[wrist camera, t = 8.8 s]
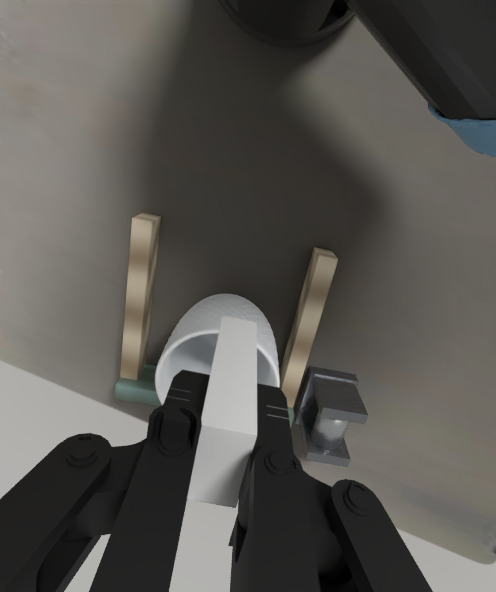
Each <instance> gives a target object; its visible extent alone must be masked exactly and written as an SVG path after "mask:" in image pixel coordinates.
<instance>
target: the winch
mask: <svg viewBox="0 0 496 592" xmlns="http://www.w3.org/2000/svg"><path fill="white" fill-rule="evenodd" d="M357 384H358V380H357V378H356V375H354V374H349V373H343V372H338V371H332V370H327V369H321V368H316V367H310V366H309V370H308V373H307V376H306V379H305V382H304V386H303V389H302V392H301V395H300V399H299V402H298V405H297V408H296V412H295V415H294V418H295V424H299V425H300V430H301V436H302V442H303V448H304V454H305V460H309V461H315V462H321V463H327V464H333V465H339V466H345V467H347V466H348V464H349V462H350V456H349V453H348V450H347V447H346V443H345V440H344V434H345V431H346V429H347V426H348V424H349V421H351V422H356V423H362V424H365V422H366V420H367V417H368V414H367V411H366V409H365V407H364V404H363V402H362V400H361V397H360V395H359V393H358V391H357V388H356V387H357Z"/></svg>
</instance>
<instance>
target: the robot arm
mask: <svg viewBox="0 0 496 592" xmlns="http://www.w3.org/2000/svg"><path fill="white" fill-rule="evenodd" d="M220 2H221V3H222V5H223V7H224V8H225V10H226V11H227V12H228V14H229V15H230V16H231V17H232V19H233V20H234V21H235V22H236V23H237V24H238V25H239V26H240V27H241V28H242V29H244V30H245V31H246V32H248V33H249V34H250V35H252V36H254V37H255V38H257V39H259V40H261V41H264V42H267V43H270V44H273V45H278V46H286V47H294V46H302V45H307V44H311V43H314V42H317V41H319V40H321V39H324V38H325V37H327V36H329V35H331V34H332V33H334V32H335V31H337V30H338V29H339V28H341V27H342V26H343V25H344V24H345V23H346V22H347V21H348V20H349V19H350V18H351V17H352V16H353V15H354V14H355V15H356V17H357V18H358V19H359V20H360V21H361V23H362V24H363V25H364V26H365V27H366V29H367V30H368V31H369V32H370V33H371V35H372V36H373V37H374V38H375V39H376V41H377V42H378V43H379V44H380V45H381V47H382V48H383V49H384V50H385V52H386V53H387V54H388V55H389V56H390V58H391V59H392V60H393V61H394V62H395V64H396V65H397V66H398V67H399V68H400V70H401V71H402V72H403V73H404V74H405V76H406V77H407V78H408V79H409V80H410V82H411V83H412V84H413V85H414V86H415V88H416V89H417V90H418V91H419V93H420V94H421V95H422V96H423V97H424V99H425V100H426V101H427V102H428V109H429V110H430V111H431V113H432V114H433V115H434V116H435V117H436V118H437V119H438V120H440V121H442V122H444V123H446V124H448V125H449V127H450V128H451V129H452V130H453V131H454V132H455V133H456V134H457V135H458V136H459V137H460V138H461V139H462V141H463V142H464V143H465V144H466V145H467V146H468V147H470V148H471V149H473V150H474V151H476V152H478V153H481V154H487V155H489V156H491V157H496V0H220ZM238 499H239V504H238V515H237V518H236V522H235V525H234V528H233V531H232V535H231V538H230V542H229V546H233V552H232V568H231V583H230V592H433V591H432V590H431V588H430V586H429V584H428V583H427V581H426V579H425V578H424V576H423V574H422V572H421V571H420V569H419V567H418V565H417V564H416V562H415V561H414V559H413V557H412V555H411V554H410V552H409V550H408V548H407V547H406V545H405V543H404V542H403V540H402V538H401V536H400V535H399V533H398V531H397V529H396V528H395V526H394V524H393V523H392V521H391V519H390V517H389V516H388V514H387V512H386V511H385V509H384V507H383V505H382V504H381V502H380V501H379V499H378V498H377V497H376V495H375V494H374V493H373V492H372V491H371V490H370V489H368V488H367V487H366V486H365V485H363V484H361V483H359V482H357V481H354V480H347V479H344V480H340V481H337V482H336V483H335V484H334V486H333V487H331V486H329V485H327V484H325V483H322V482H320V481H318V480H316V479H314V478H313V477H311V476H309V475H308V474H307V473H306V472H305V471H303V469H302V466H301V463H300V461H299V460H298V459H297V458H296V456H295V455H294V453H293V445H292V437H291V429H290V421H289V413H288V405H287V398H286V396H285V395H284V393H283V392H282V390H281V389H280V388H279V387H274V386H269V385H264V384H259V383H257V323H255V322H251V321H246V320H241V319H236V318H231V317H227V316H222V321H221V326H220V330H219V335H218V340H217V344H216V349H215V354H214V358H213V363H212V368H211V372H210V375H208V374H203V373H198V372H193V371H188V370H183V369H182V370H181V371H180V372H179V373H178V374H176V375H175V376H174V377H173V380H172V382H171V385H170V388H169V390H168V393H167V396H166V399H165V401H164V404H163V405H162V406H160V407H158V408H157V409H155V410H154V411H153V412H152V414H151V415H150V418H149V425H148V432H147V438H146V439H144V440H143V441H141V442H139V443H136V444H133V445H128V446H119V447H111V445H110V443H109V442H108V440H106V439H105V438H103V437H102V436H100V435H96V434H91V433H87V434H78V435H75V436H72V437H69V438H67V439H66V440H64V441H63V442H61V443H60V444H58V445H57V446H56V447H55V448H54V449H53V450H52V451H51V452H50V453H49V454H48V455H47V456H46V457H45V458H44V459H43V460H42V461H40V462H39V463H38V464H37V465H36V466H35V467H34V468H33V469H32V470H31V471H30V472H29V473H28V474H27V475H25V476H24V477H23V478H22V479H21V480H20V481H19V482H18V483H17V484H16V485H15V486H14V487H13V488H12V489H11V490H10V491H9V492H8V493H6V494H5V495H4V496H3V497H2V498H1V499H0V592H64V591H65V589H66V588H67V586H68V585H69V583H70V582H71V580H72V579H73V577H74V576H75V574H76V573H77V571H78V570H79V568H80V567H81V565H82V564H83V562H84V561H85V559H86V558H87V557H88V555H89V553H90V552H91V550H92V549H93V548H94V546H95V545H96V543H97V542H98V540H99V539H100V537H101V535H106V534H111V535H110V538H109V540H108V543H107V546H106V548H105V551H104V554H103V556H102V559H101V562H100V564H99V567H98V569H97V572H96V575H95V577H94V580H93V583H92V585H91V588H90V591H89V592H169V587H170V581H171V577H172V572H173V567H174V562H175V557H176V551H177V547H178V542H179V536H180V532H181V526H182V521H183V516H184V511H185V506H186V501H187V500H193V501H199V502H205V503H210V504H216V505H222V506H228V507H233V508H236V505H237V502H238Z"/></svg>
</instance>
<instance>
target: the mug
mask: <svg viewBox="0 0 496 592" xmlns="http://www.w3.org/2000/svg"><path fill="white" fill-rule="evenodd" d="M222 316H227V317H231V318H236V319H241V320H246V321H251V322H255V323H257V383H259V384H264V385H269V386H274V387H279V386H280V379H279V367H278V364H279V363H278V358H277V357H278V354H277V351H276V344H275V338H274V336H273V331H272V329H271V327H270V324H269V323H268V321H267V318H266V317H265V316H264V314H263V312H261V311H260V309H259V308H258V307H257V306H255V304H253V303H252V302H250V301H249V300H247V299H245V298H244V297H241V296H238V295H234V294H223V293H222V294H215V295H212V296H210V297H207V298H205V299H203V300H201V301H199V302H198V303H197V304H195V305H194V306H193V307H192V308H190V309H189V310H188V312H187V313H185V314H184V316H183V317H182V318H181V319H180V321H179V323H178V324H177V325H176V327H175V329H174V330H173V332H172V335H171V336H170V337H169V339H168V342H167V344H166V345H165V348H164V351H163V353H162V355H161V357H160V359H159V362H158V365H157V368H156V373H155V387H156V392H157V395H158V398H159V400H160V402H161V404H162V405H163V404H164V401H165V399H166V396H167V393H168V390H169V388H170V385H171V382H172V380H173V377H174V376H175V375H176V374H178V373H179V372H180V371H181V370H182V369H183V370H188V371H193V372H198V373H203V374H208V375H210V372H211V368H212V363H213V358H214V354H215V349H216V344H217V340H218V335H219V330H220V326H221V321H222Z"/></svg>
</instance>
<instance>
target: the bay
mask: <svg viewBox="0 0 496 592" xmlns="http://www.w3.org/2000/svg"><path fill="white" fill-rule="evenodd" d="M160 223H161V216H157V215H152V214H148V213H141V214H139V215H137V216H135V217H133V218H132V228H131V241H130V254H129V267H128V280H127V293H126V306H125V319H124V332H123V345H122V358H121V371H120V378H119V380H118V381H117V383H116V385H115V397H114V399H118V400H124V401H129V402H135V403H141V404H147V405H153V406H158V407H160V406H162V404H161V402H160V400H159V398H158V395H157V392H156V387H155V373H156V368H157V366H154V365H148V364H145V363H146V354H147V344H148V335H149V326H150V316H151V307H152V298H153V288H154V279H155V270H156V260H157V251H158V242H159V232H160ZM337 262H338V258H337V257H336V256H335V255H334V253H333V252H332V251H330V250H325V249H320V248H315V247H314V249H313V252H312V256H311V260H310V263H309V267H308V271H307V274H306V278H305V282H304V285H303V289H302V292H301V296H300V300H299V303H298V307H297V311H296V314H295V318H294V322H293V325H292V329H291V333H290V336H289V340H288V343H287V347H286V351H285V354H284V358H283V362H282V365H281V369H280V373H279V379H280V386H279V388H280V389H281V390H282V392H283V393H284V395H285V396H286V398H287V405H288V413H289V421H290V428H291V425H292V422H293V419H294V411H293V406H294V403H295V400H296V396H297V393H298V390H299V387H300V383H301V380H302V377H303V373H304V370H305V367H306V364H307V360H308V357H309V354H310V351H311V347H312V344H313V341H314V337H315V334H316V331H317V328H318V324H319V321H320V318H321V314H322V311H323V308H324V305H325V301H326V298H327V295H328V292H329V288H330V285H331V282H332V278H333V275H334V272H335V269H336V265H337Z"/></svg>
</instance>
